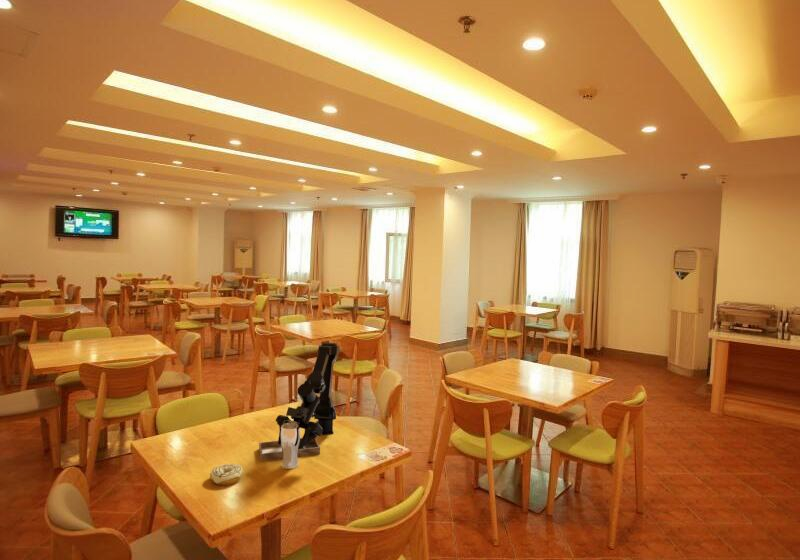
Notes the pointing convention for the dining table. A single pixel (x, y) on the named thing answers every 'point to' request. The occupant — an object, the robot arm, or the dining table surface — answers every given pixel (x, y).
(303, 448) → the box
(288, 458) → the metal cup
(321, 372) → the robot arm
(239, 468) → the decorated donut
